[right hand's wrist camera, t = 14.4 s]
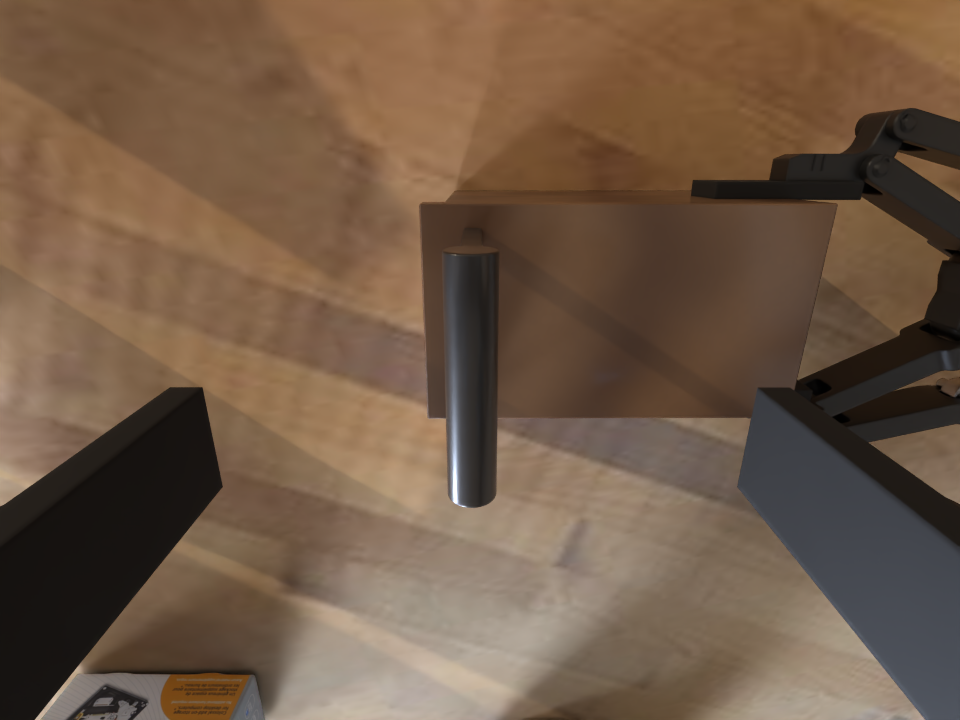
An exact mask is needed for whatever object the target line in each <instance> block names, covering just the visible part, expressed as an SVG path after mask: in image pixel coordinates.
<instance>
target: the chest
mask: <svg viewBox="0 0 960 720" xmlns="http://www.w3.org/2000/svg"><path fill="white" fill-rule="evenodd" d="M446 202H816V201H806V200H797V199H711V198H703V197H696V196H691V191H454V193H453V194H452V195H451V196H450V197H449V198H448V199H447V201H446Z"/></svg>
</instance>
